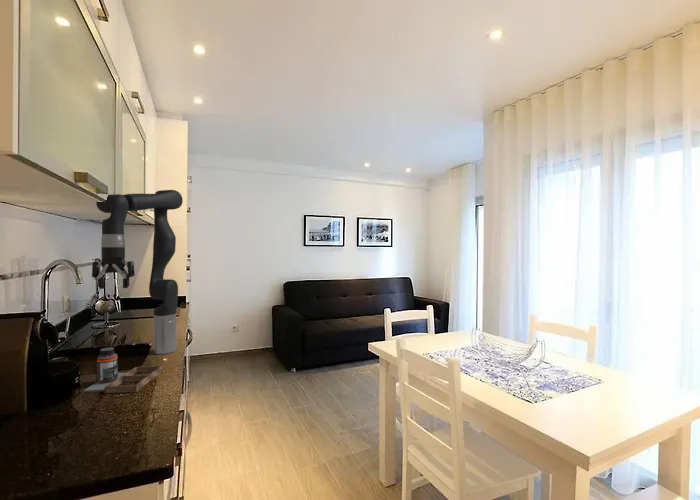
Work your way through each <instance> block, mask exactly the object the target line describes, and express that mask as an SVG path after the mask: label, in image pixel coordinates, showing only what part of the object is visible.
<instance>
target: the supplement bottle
mask: <svg viewBox="0 0 700 500" xmlns="http://www.w3.org/2000/svg"><path fill="white" fill-rule="evenodd" d="M118 365H119V364H118V354H117V353H115V348H114V347H112V346H111V347H103V348H101V349H100V350H99V355H98V356H97V358H96V370H97V371H96V373H97V374H96V375H97V376H96V377H97V379H96V380H97V382H99V383H109V382H112V381H114V380H116V379H117V378H118V373H119V371H118V370H119V368H118Z"/></svg>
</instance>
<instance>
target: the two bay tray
mask: <svg viewBox="0 0 700 500" xmlns="http://www.w3.org/2000/svg"><path fill="white" fill-rule="evenodd" d="M163 370H164V368H163V365H154V366H152V365H150V366H135V367H134V368H132V369H131V370H129V371H127V372H125V373H126V374H124V375H123V376H121V377H120V378H118V379H117V380H115V381H113V382H112V383H110V384H109V385H107V386H106V387H105V391H104V394H116V393H118V394H119V393H120V394H121V393H137V392H138V391H140V389H142V388H143V387H145V386H146V385H147V384H148V383H150V382H151V381H152V380H153V379H155V378H156V377H157V376H158V375H160V374H161V373H162V372H164V371H163ZM138 372H141V373H150V374H139V373H138ZM135 373H136V374H137V373H138V375H136V374H135ZM132 375H133V376H132ZM136 381H137V383H136V384H131V385H127V384H126V385H121V384H123V383H130V382H131V383H134V382H136Z"/></svg>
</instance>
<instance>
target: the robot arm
mask: <svg viewBox="0 0 700 500" xmlns="http://www.w3.org/2000/svg"><path fill="white" fill-rule="evenodd" d="M107 195H108V197H107V200H106V201H105V202H97V201H96V203H95V204H96V207H97V209H98V210H99V211H100V212H102V213H106V214H110V216H109V217H108V218H106V219H104V220H102V222H101V239H100V240H101V241H100V243H101V244H100V248H101V249H100V250H101V252H100V254H101V257H100V258H101V262H100V261H92V265H91V266H92V269H91V277H92V278H94V279H97V287H98V288H99V290H102V289H105V286H106V282H105V277H106V276H107V275H108V274H110V273H111V274H112V273H115V274H116V273H118V274H119V275H121V277H122V288H123V289H128V287H129V286H130V278H132V277H135V274H136V272H135V262H134V261H133V260H128V261H126V240H125V227H124V225H125V222H126V218H127V215H128V212H136V211H145V210H150V209H153V217H154V218H153V219H154V223H153V225H154V227H153V243H152V264H151V271H150V277H149V278H150V279H149V284H148V285H149V286H148V292H149V295H150V296H149V297H150V298H151V299H152V300H163V304H162V305H160V306H158V307H156V308H154V309H153V353H154V354H155V355H165V354H166V355H167V354H171V353H174V352H176V351H177V349H178V346H177V341H178V340H177V337H178V336H177V309H178V303H179V302H178V301H179V300H178V299H179V297H178V296H179V285H178V282H177V281H176V280H174V279H171V278H169V279H167V278H166V279H164V274H165V270H166V268H167V266H168V265H169V263H170V261H171V260H172V258H173V257H174V255H175V253H176V243H177V242H176V241H177V240H176V239H177V238H176V234H175V233H174V231H173V229H172V227H171V225H170V223H169V219H168V210H171V211H172V210H177V209H180V208H181V207H182V205H183V203H184V202H183V196H182V194H181V193H180V192H179V191H178V190H176V189H164V190H162V189H161V190H160V189H159V190H157V191H156V192H155V193H127V194H119V193H117V194H115V193H114V194H107ZM101 267H102V269H101V270H100V268H101ZM125 267H127V270H126V268H125Z"/></svg>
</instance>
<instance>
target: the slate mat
mask: <svg viewBox="0 0 700 500" xmlns="http://www.w3.org/2000/svg"><path fill="white" fill-rule="evenodd" d="M126 373H127V372H118V378H120V377H121V376H123V375H124V374H126ZM118 378H117V379H118ZM117 379H116V380H117ZM114 381H115V380H114ZM112 382H113V381H112ZM112 382H109V383H99V382H98V381H97V382H94V383H93V384H91V385H90V386H88V387H87V388H85V389H83V393H90V392H91V393H97V392H105V387H106V386H107V385H109V384H110V383H112Z"/></svg>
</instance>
